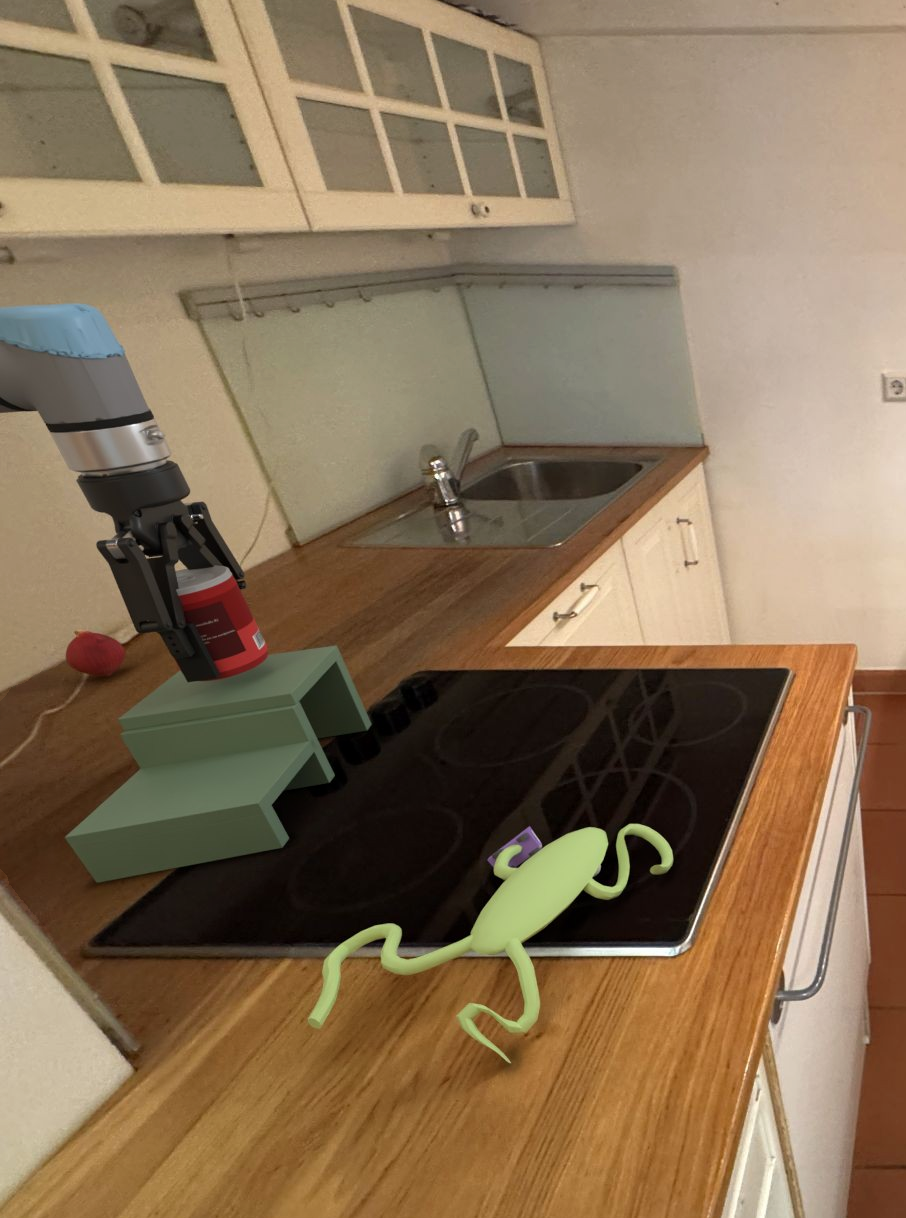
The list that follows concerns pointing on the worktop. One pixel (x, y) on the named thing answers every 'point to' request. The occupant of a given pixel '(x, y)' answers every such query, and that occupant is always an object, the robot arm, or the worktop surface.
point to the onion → (94, 653)
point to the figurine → (508, 915)
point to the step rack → (219, 764)
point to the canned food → (221, 619)
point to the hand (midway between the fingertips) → (225, 660)
